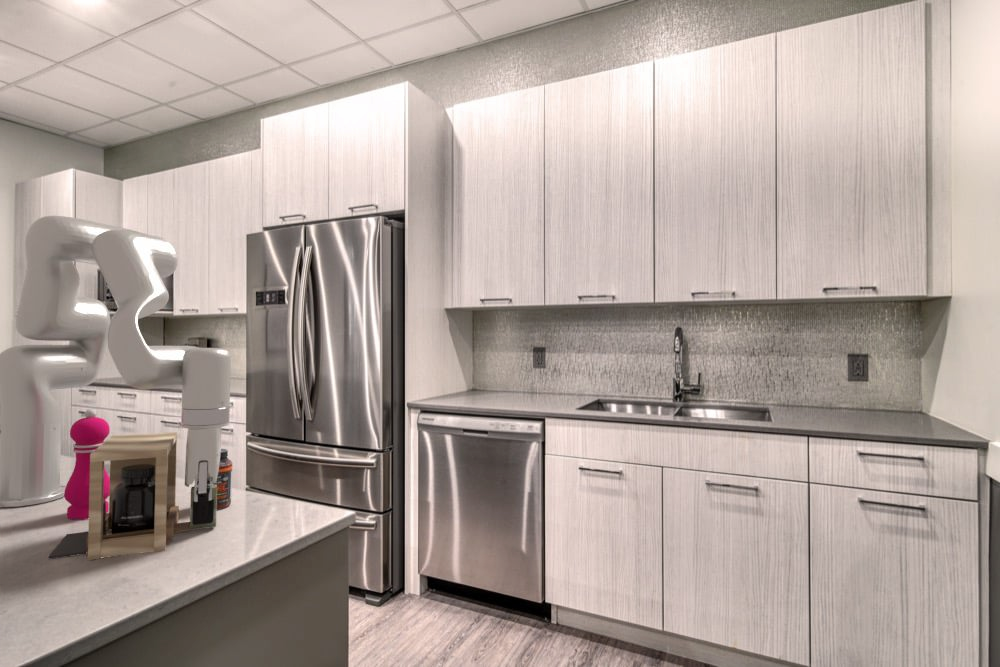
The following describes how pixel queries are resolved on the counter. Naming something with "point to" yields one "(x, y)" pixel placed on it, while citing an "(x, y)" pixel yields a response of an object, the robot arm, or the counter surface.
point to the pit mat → (70, 545)
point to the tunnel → (121, 454)
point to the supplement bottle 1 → (134, 500)
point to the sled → (170, 525)
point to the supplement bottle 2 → (224, 481)
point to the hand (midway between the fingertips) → (203, 519)
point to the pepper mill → (85, 464)
